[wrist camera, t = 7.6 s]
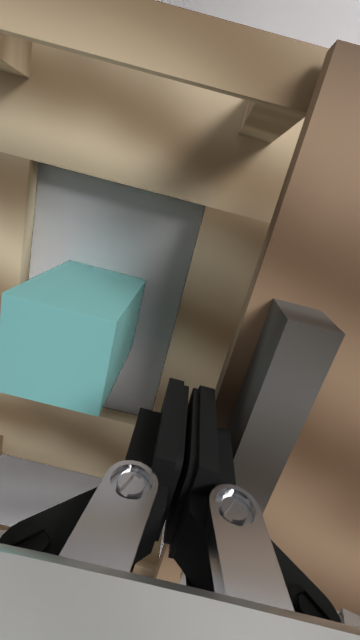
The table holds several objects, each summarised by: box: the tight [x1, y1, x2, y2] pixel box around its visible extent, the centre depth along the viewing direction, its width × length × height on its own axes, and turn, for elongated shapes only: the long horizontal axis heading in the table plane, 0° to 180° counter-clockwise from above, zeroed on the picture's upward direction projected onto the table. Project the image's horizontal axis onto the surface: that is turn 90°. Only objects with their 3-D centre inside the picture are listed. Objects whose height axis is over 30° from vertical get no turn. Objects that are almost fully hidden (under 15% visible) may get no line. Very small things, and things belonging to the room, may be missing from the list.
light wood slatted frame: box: [0, 0, 329, 578], centre depth 17 cm, size 24×27×7 cm
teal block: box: [0, 260, 146, 417], centre depth 17 cm, size 4×4×7 cm
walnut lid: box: [153, 40, 360, 616], centre depth 12 cm, size 24×11×3 cm, turn 166°
